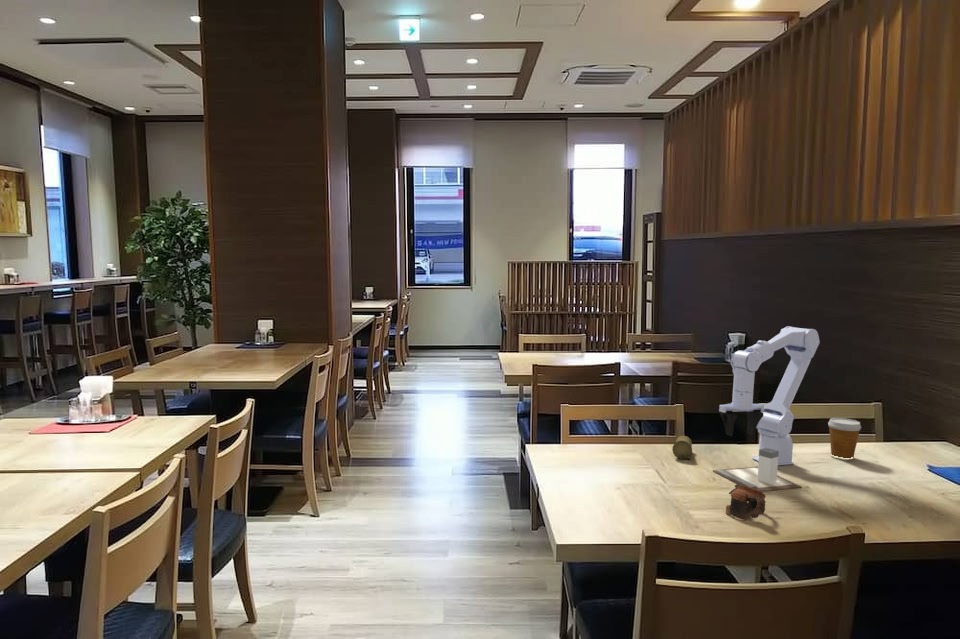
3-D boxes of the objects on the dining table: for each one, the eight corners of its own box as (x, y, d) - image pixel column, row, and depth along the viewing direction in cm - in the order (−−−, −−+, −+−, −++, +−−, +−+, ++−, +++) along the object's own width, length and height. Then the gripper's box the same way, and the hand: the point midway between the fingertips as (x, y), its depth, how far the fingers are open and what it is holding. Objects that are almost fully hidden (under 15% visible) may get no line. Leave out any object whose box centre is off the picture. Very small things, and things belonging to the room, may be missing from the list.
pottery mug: (714, 511, 167) (724, 480, 169) (745, 526, 169) (754, 495, 171) (745, 517, 156) (755, 484, 158) (777, 533, 157) (787, 500, 159)
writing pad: (757, 467, 202) (757, 464, 201) (801, 487, 184) (801, 484, 184) (712, 471, 197) (712, 468, 197) (753, 492, 180) (753, 489, 180)
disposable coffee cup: (865, 462, 209) (868, 425, 208) (835, 461, 210) (837, 424, 208) (848, 453, 219) (851, 417, 218) (820, 452, 219) (822, 417, 218)
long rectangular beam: (764, 478, 190) (766, 447, 189) (776, 481, 187) (778, 451, 186) (757, 480, 188) (759, 449, 187) (769, 484, 185) (771, 453, 184)
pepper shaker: (689, 461, 208) (691, 453, 218) (694, 443, 207) (695, 436, 217) (670, 456, 210) (672, 448, 220) (674, 438, 209) (676, 431, 219)
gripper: (754, 387, 204) (751, 430, 206) (714, 388, 200) (711, 432, 201) (770, 392, 198) (766, 436, 199) (729, 393, 194) (725, 438, 195)
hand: (739, 434), depth 200 cm, fingers open, 7 cm apart
